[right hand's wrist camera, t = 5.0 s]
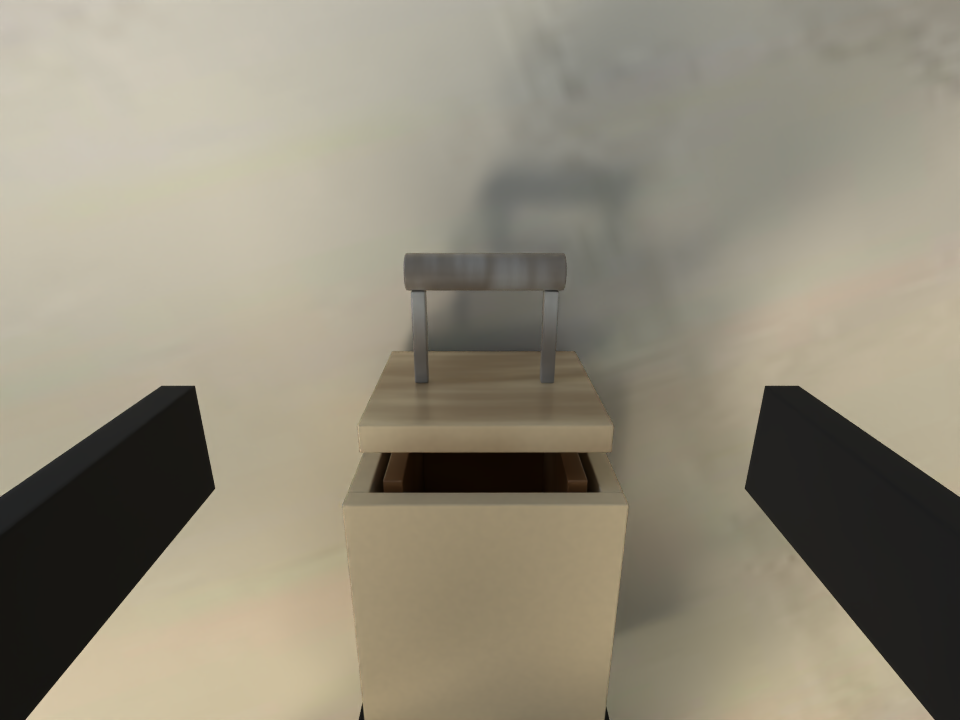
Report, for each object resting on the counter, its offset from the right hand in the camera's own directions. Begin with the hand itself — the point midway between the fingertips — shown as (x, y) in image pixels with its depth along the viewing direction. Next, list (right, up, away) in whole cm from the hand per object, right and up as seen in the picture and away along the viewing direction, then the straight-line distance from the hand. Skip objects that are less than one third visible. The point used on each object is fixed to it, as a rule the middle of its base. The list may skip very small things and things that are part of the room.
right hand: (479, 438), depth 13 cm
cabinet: (0, -9, +21) cm, 23 cm away
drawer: (0, -4, +18) cm, 18 cm away
